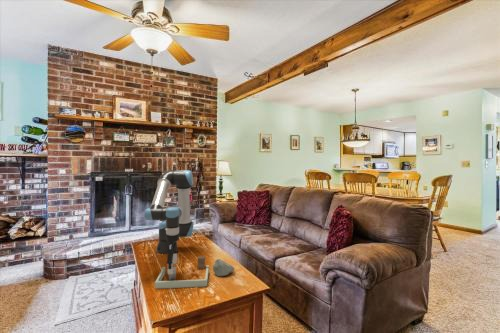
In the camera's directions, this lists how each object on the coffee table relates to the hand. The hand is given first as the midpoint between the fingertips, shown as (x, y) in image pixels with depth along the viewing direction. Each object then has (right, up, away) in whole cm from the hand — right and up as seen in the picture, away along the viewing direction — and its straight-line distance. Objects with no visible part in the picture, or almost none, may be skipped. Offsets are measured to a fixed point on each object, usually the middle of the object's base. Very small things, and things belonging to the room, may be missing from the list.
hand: (172, 268), depth 150 cm
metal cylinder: (0, -6, -1) cm, 6 cm away
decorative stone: (+30, -6, +7) cm, 32 cm away
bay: (+7, -6, -2) cm, 10 cm away
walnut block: (+14, -6, +16) cm, 22 cm away
